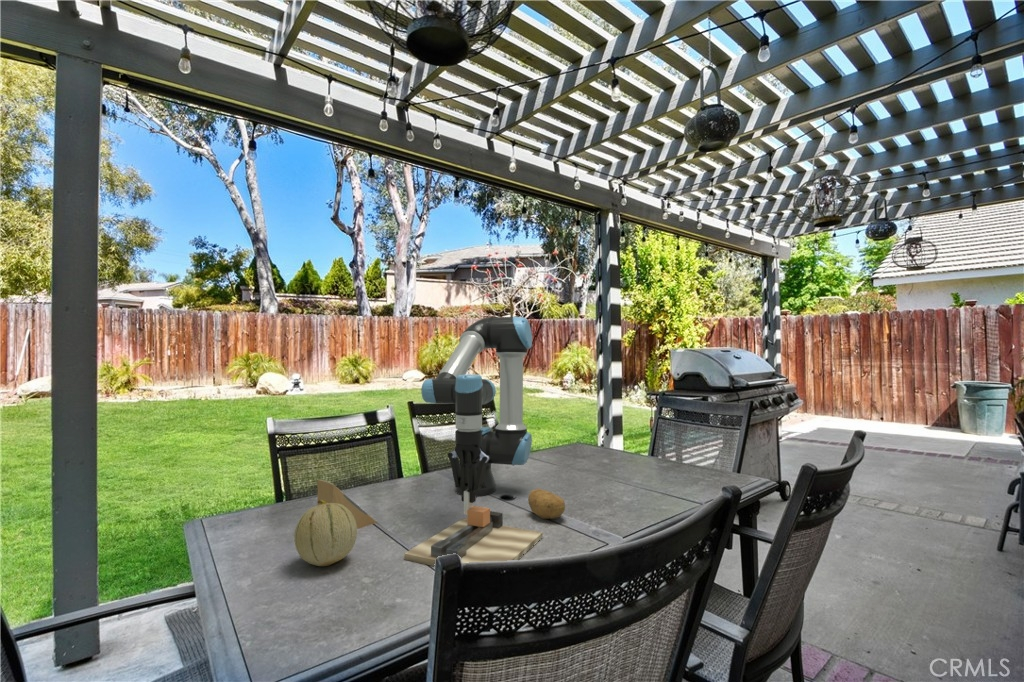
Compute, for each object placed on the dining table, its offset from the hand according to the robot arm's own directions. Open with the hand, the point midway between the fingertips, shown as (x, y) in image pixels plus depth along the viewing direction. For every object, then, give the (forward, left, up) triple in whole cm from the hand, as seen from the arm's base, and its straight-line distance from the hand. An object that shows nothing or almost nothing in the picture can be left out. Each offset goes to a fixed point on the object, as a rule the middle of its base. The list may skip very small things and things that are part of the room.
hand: (468, 513), depth 138 cm
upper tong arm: (+7, +5, -5) cm, 10 cm away
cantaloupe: (+30, -23, -7) cm, 38 cm away
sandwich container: (+8, -37, -7) cm, 38 cm away
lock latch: (0, +3, -2) cm, 4 cm away
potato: (-24, +14, -7) cm, 29 cm away
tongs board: (+6, +6, -7) cm, 11 cm away
